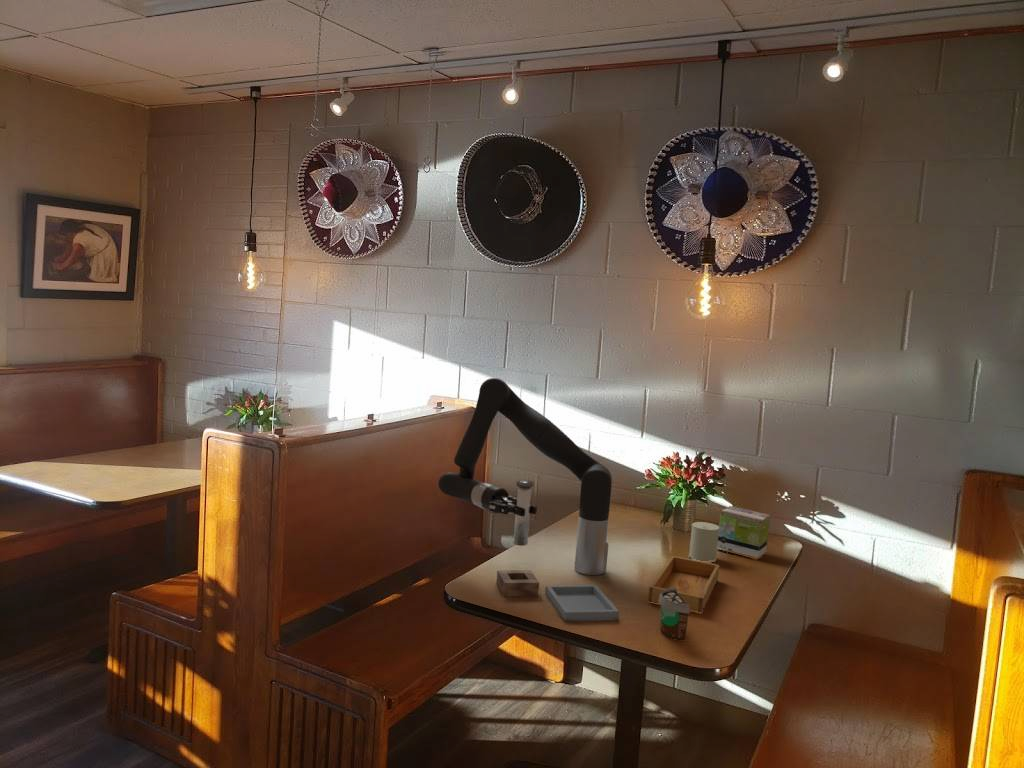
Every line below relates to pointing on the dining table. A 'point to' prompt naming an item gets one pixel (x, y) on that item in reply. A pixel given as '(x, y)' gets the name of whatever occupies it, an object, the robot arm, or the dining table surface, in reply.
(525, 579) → the socket block
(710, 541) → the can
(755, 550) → the tea box
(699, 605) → the tray
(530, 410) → the robot arm
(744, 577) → the dining table surface
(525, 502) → the steel pin
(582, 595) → the pin tray
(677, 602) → the food container
